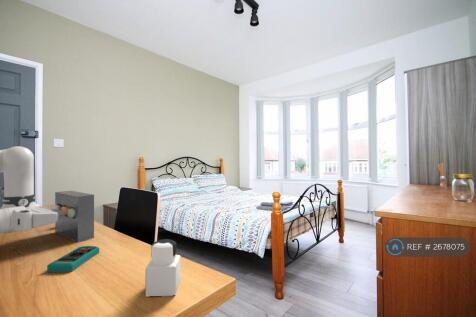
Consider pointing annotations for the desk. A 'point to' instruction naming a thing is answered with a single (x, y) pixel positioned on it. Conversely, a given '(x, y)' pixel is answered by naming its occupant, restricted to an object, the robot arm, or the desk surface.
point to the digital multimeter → (73, 259)
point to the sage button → (71, 213)
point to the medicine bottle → (163, 269)
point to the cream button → (56, 207)
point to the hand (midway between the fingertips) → (62, 211)
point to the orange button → (64, 210)
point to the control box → (76, 215)
